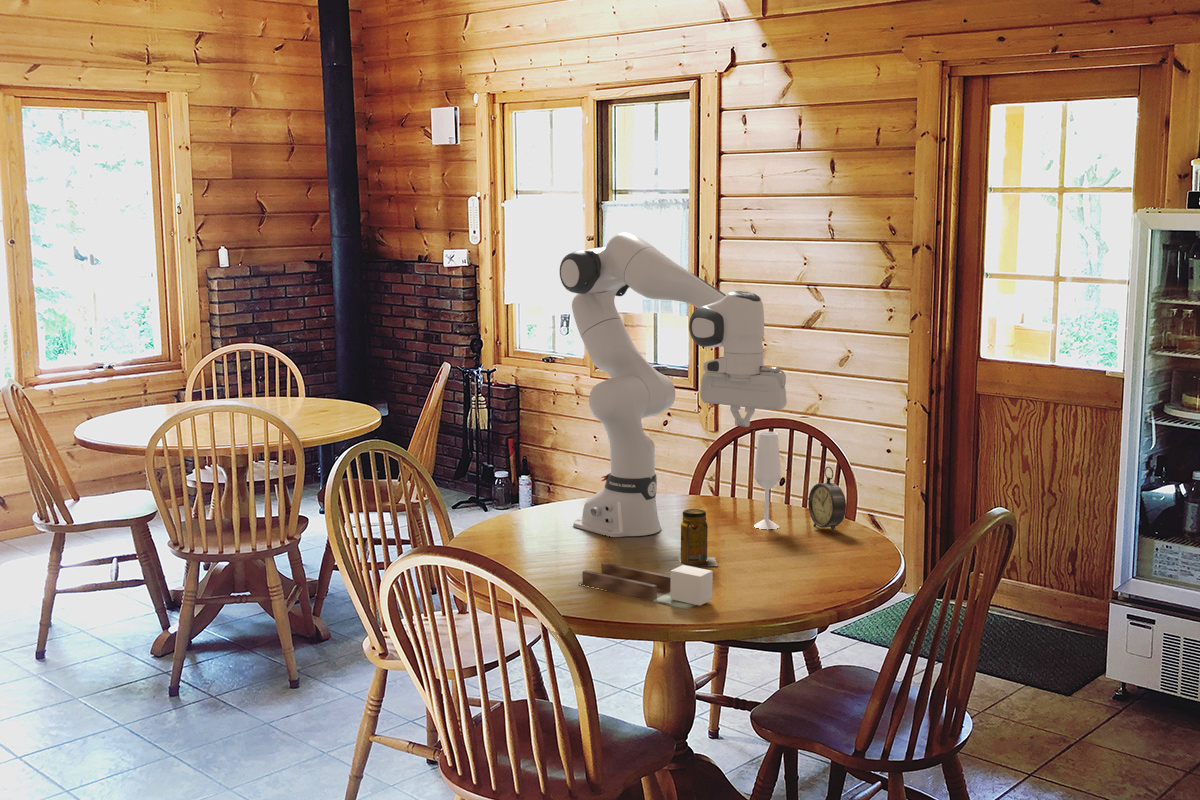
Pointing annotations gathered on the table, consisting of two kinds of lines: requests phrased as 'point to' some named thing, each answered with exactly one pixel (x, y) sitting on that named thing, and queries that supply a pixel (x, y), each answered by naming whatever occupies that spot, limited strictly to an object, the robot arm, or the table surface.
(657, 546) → the table surface
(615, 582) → the chute
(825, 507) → the alarm clock
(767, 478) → the champagne flute
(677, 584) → the block
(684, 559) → the condiment
